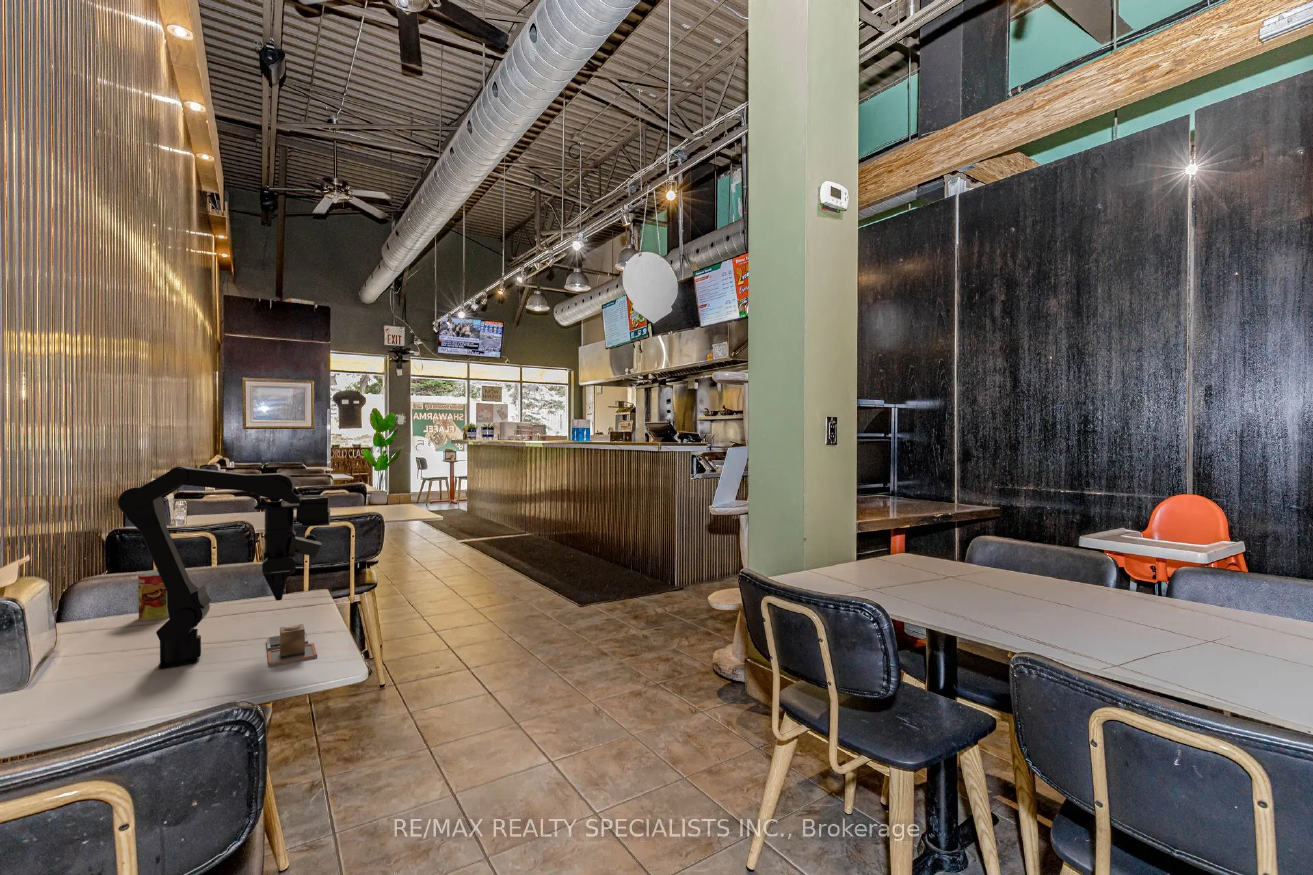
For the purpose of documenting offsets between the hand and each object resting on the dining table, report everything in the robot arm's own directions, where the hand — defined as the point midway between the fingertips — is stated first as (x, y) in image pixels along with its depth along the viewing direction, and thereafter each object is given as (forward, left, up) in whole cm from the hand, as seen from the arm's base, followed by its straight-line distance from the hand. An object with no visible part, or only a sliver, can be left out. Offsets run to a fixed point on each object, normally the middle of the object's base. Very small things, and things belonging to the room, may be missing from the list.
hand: (279, 595), depth 138 cm
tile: (+2, -7, -12) cm, 14 cm away
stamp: (+2, -7, -12) cm, 14 cm away
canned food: (-26, +48, -12) cm, 56 cm away
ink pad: (+2, +3, -12) cm, 13 cm away
